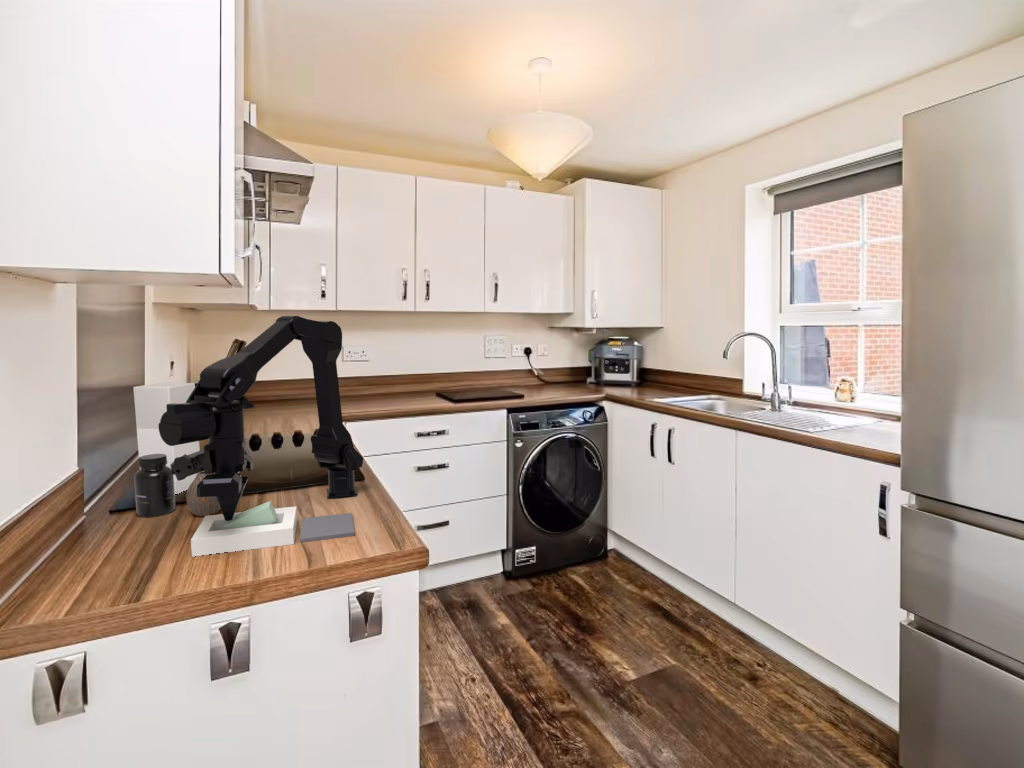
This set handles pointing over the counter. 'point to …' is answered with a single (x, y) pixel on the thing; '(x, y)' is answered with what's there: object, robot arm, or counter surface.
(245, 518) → the sage block
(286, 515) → the white rectangular frame
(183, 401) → the tall white carton
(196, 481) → the vase
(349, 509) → the counter surface
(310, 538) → the rubber mat
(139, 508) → the supplement bottle
